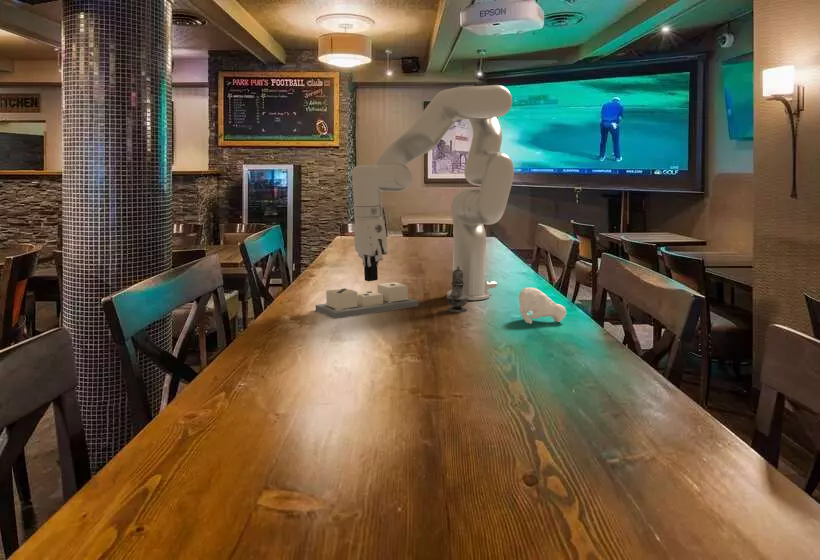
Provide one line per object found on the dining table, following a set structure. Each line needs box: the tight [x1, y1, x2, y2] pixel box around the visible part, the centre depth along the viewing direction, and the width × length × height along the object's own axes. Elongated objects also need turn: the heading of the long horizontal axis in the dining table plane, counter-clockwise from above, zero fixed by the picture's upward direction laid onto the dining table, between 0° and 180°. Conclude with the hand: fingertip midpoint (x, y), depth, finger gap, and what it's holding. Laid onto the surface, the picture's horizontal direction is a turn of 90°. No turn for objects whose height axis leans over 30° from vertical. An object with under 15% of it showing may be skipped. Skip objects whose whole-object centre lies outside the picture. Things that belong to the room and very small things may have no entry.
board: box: [314, 297, 420, 319], centre depth 168 cm, size 11×26×2 cm, turn 125°
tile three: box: [325, 287, 358, 311], centre depth 163 cm, size 6×6×4 cm
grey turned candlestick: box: [446, 267, 468, 313], centre depth 166 cm, size 6×6×12 cm
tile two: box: [357, 290, 383, 307], centre depth 168 cm, size 6×6×4 cm
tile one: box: [377, 281, 409, 303], centre depth 172 cm, size 6×6×4 cm
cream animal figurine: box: [518, 287, 567, 325], centre depth 154 cm, size 6×8×12 cm
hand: (371, 280), depth 167 cm, fingers closed
